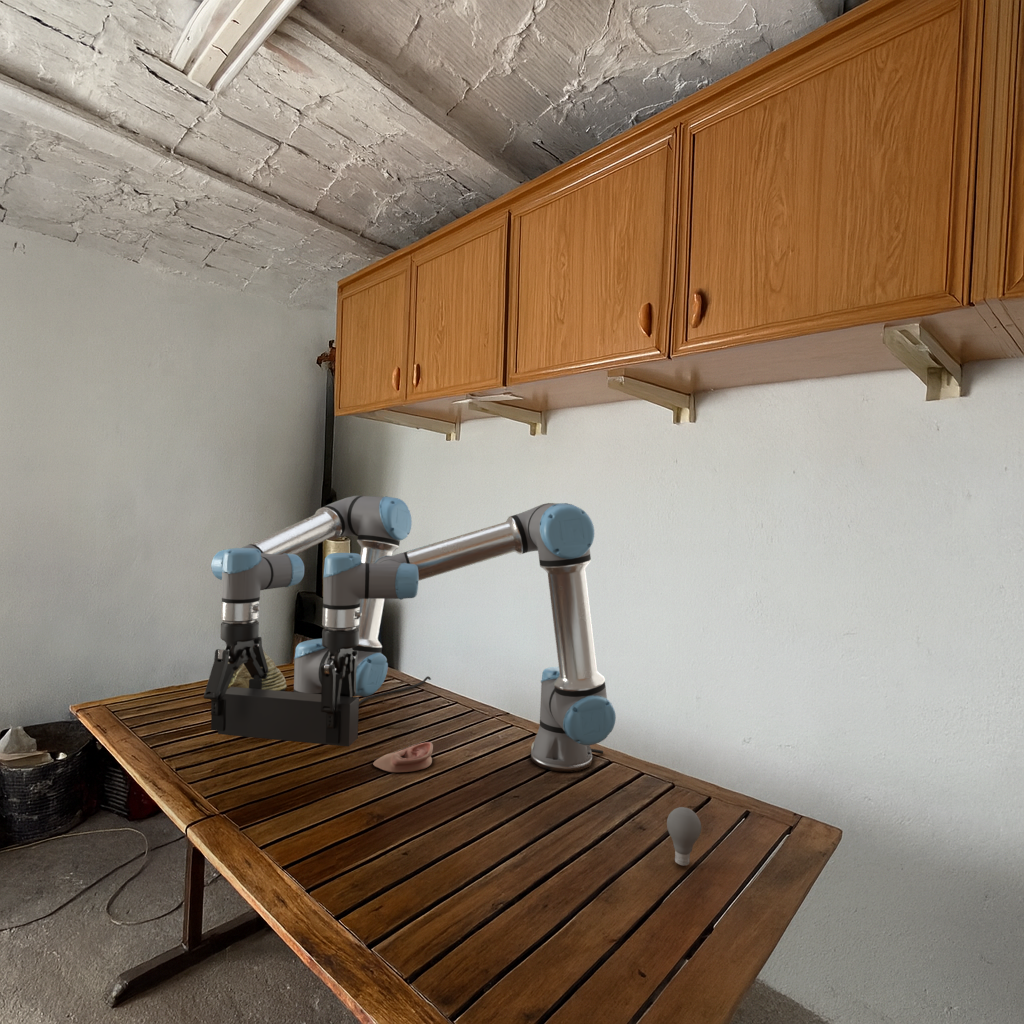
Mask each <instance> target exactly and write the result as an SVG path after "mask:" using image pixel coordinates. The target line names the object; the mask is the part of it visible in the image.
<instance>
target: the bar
mask: <svg viewBox="0 0 1024 1024" xmlns="http://www.w3.org/2000/svg"><path fill="white" fill-rule="evenodd" d="M219 694H220V693H219ZM224 698H226V727H225V731H217V735H222V736H223V735H224V736H234V737H235V736H236V737H243V738H254V739H264V740H265V739H266V740H275V741H285V742H297V743H309V744H319V745H328V746H339V747H348V748H349V747H350V746H351V745H352V744H353V743H354V742H356V740H358V739H359V710H360V709H359V707H360V704H359V701H360V696H353V697H348V696H340V700H339V709H338V711H340V743H339V744H334V743H326V712H321V694H312V693H300V692H294V691H289V690H288V691H287V690H285V691H276V690H264V689H251V688H239V687H231V688H229V689H227V691H226V693H225V695H224Z"/></svg>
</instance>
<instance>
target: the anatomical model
mask: <svg viewBox="0 0 1024 1024" xmlns="http://www.w3.org/2000/svg"><path fill="white" fill-rule="evenodd" d="M433 751H434V744H433V743H432V742H430V741H426V742H422V743H418V744H414V745H411V746H408V747H406V748H403V749H401V750H397V751H394V752H390V753H387V754H385V755H382V756H381V757H378V758H377V759H375V760H374V762H373V763H372V764H373V766H374V767H375V768H378V769H380V770H382V771H385V772H388V773H408V772H416V771H420V770H424V769H426V768H428V767H430V766H431V765H432V763H433V758H432V756H431V755H432V754H433Z"/></svg>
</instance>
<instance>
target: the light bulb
mask: <svg viewBox="0 0 1024 1024" xmlns="http://www.w3.org/2000/svg"><path fill="white" fill-rule="evenodd" d="M666 828H667V829H666V830H667V832H668V833H669V836H670V838H671V840H672V843H673V849H674V851H675V852H674V861H675V863H676V864H678V865H680V866H682V867H683V866H688V865H690V859H691V857H690V856H691V852H692V851H693V847H694V844H695V843H696V841H697V840H698V839H699V837H700V835H701V833H702V823H701V820H700V817H698V815H697V813H696V812H695V811H693V810H692V809H691V808H689V807H686V806H684V807H683V806H679V807H676V808H674V809H673V810H671V812H669V814H668V816H667V819H666Z"/></svg>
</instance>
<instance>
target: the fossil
mask: <svg viewBox="0 0 1024 1024" xmlns="http://www.w3.org/2000/svg"><path fill="white" fill-rule="evenodd" d="M263 652H264V655H265V659H266V663H267V666H268V673H267V678H266V679H262V689H264V690H276V691H287V690H286V689H287V687H288V686H287V680H286V678H285V676H284V674H283V673H282V672H281V669H279V668H278V667H277V665H276V663H275V662H274V660H273V659H272V658H271V657H270V656H269V655H268V654H267V653H266V652H265V650H264V649H263ZM228 663H229V662H228ZM260 668H262V667H260ZM250 679H253V678H252V677H251V675H250V673H249V672H248V670H247V668H246V667H245V665H244V663H243V664H242V665H240V666H239V668H238V669H237V670H235V672H234V674H233V677H232V679H231V681H230V684H229V686H228V688H227V689H229V688H231V687H239V688H249V680H250Z"/></svg>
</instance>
